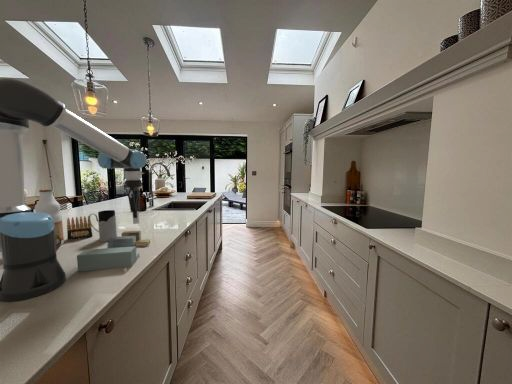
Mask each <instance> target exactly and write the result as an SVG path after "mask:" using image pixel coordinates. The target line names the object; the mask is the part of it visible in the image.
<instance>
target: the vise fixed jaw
mask: <svg viewBox="0 0 512 384" xmlns="http://www.w3.org/2000/svg"><path fill="white" fill-rule="evenodd" d="M136 249H137V247H136V246H133V247H119V248H93V249H92V248H90V249H85V250H82V252H80V253H79V254H77V255H76V261H77V262H76V263H77V271H78V272H85V271H97V270H110V269H121V268H132V267H133V266H134V265H135V263H136V262H137V261H138V260H139V258H140V257H141V255H140V252H139V251H138V252H137V250H136Z"/></svg>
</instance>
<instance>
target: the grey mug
mask: <svg viewBox="0 0 512 384" xmlns="http://www.w3.org/2000/svg"><path fill="white" fill-rule="evenodd" d="M92 215H93V216H95V219H96V222H97V223H98V229H97V228H95V226H94V225H93V223H92V221H91V220H92V219H91V216H92ZM88 216H89V222H90V224H91V227H92V229H94V230H95V231H96V232H98V235H99V238H98V241H99V242H108V239H110V238H111V237H119V236H118V233H117V231H118V230H117V218H116V217H117V216H116V210H114V209H110V210H109V209H108V210H99V211H98V213H97V214H96V213H90V214H89V215H88Z"/></svg>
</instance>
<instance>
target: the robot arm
mask: <svg viewBox="0 0 512 384" xmlns="http://www.w3.org/2000/svg"><path fill="white" fill-rule="evenodd" d="M30 121H31V122H34V123H36V124H39V125H41V126H43V127H45V128H49V127H52V128H54V130H57V131H59V132H61V133H63V134H64V135H67V136H69V137H71V139H74V140H76V141H78V142H80V143H81V144H84V145H86V146H87V147H89V148H91V149H93V150H94V151H97V152H99V154H98V156H97V163H98V165H99V167H101V169H108V170H110V169H123V171H124V180H125V181H124V183H125V187H126V188H129V191H128V194H127V197H128V201H129V202H128V203H129V209H130V213H132V224H133V225H136V224H141V223H140V212H141V191H140V189H139V188H141V187H142V186H143V185H142V175H143V174H142V172H141V171H142V170H141V168H143V167H145V165H146V164H147V157H146V155H145V153H144V152H143V151H139V150H138V149H131V148H129V147H128V146H126V145H124V144H122V143H121V142H120V141H118V140H117V139H115V138H114V137H112V136H110V135H109V134H107V133H105V132H103V131H102V130H100V129H99V128H97V127H96V126H94V125H92V124H91V123H89V122H88V121H86V120H84V119H83V118H81V117H80V116H78V115H77V114H75V113H73V112H71V111H70V110H68V109H67V108H66V106H65V103H63V102H62V101H59V100H58V98H57V99H56V98H55V97H54V96H52V95H51V94H48V93H47V92H45V91H44V90H41V89H40V88H38V87H37V86H34V85H32V84H31V83H28V82H25V81H22V80H20V79H16V78H15V79H14V78H10V77H9V78H8V77H7V78H5V77H4V78H0V253H1V259H2V264H3V265H2V266H3V267H2V268H3V272H2V275H1V277H0V301H2V302H17V301H21V300H22V301H24V300H27V299H31V298H36V297H38V296H41V295H44V294H47V293H50V292H51V291H54V290H55V289H57V288H59V287H61V286H62V285H64V284H65V282H66V281H67V277H66V271H64V269H63V267H62V265H61V264H60V262H59V260H58V257H57V250H56V243H55V232H54V227H55V226H54V223H53V218H52V217H51V216H50V215H49V214H46V213H40V212H37V213H36V212H35V211H34V212H33V211H32V208H31V207H30V206H28V205H27V204H26V203H25V174H24V173H25V172H24V170H25V169H24V139H23V138H24V134H25V133H27V132H28V131H29V130H30Z"/></svg>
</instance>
